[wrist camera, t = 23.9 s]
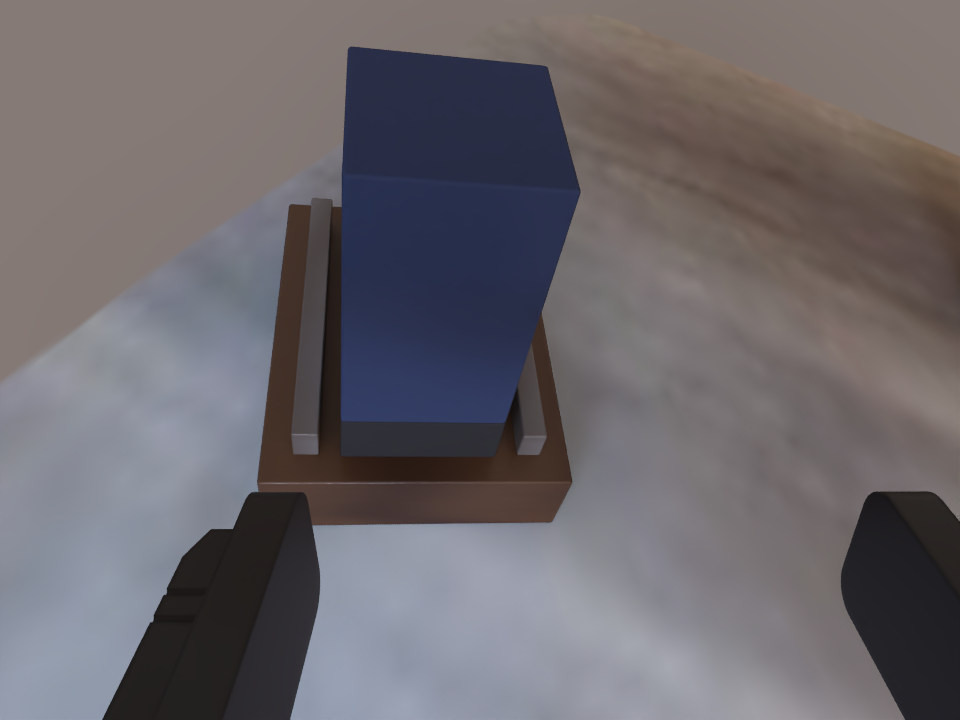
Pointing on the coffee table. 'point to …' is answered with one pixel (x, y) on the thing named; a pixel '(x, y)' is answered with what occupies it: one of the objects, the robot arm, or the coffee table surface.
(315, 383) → the wooden base with rails
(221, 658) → the robot arm
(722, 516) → the coffee table surface
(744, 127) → the coffee table surface
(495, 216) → the blue rectangular block
